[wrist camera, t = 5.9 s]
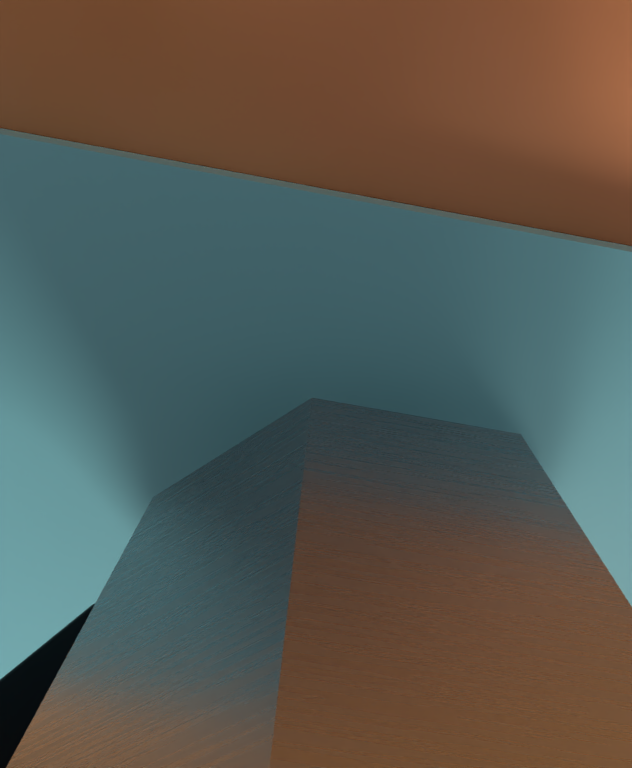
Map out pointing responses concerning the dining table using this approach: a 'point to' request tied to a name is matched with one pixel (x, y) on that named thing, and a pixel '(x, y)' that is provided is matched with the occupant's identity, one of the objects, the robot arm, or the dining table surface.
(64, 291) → the shaft base
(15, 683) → the robot arm
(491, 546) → the block
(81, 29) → the dining table surface
